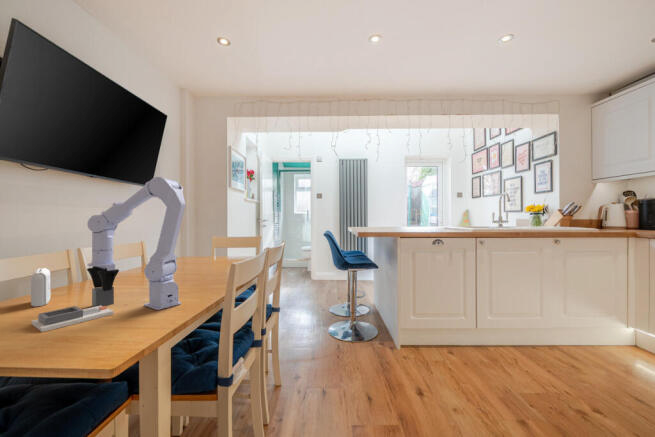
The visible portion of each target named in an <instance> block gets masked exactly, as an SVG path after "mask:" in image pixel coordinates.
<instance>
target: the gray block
mask: <svg viewBox="0 0 655 437" xmlns="http://www.w3.org/2000/svg"><path fill="white" fill-rule="evenodd" d="M111 305H115V287H114V286H112V289H111V290H108V291H103V288H102V287H98V288H95V287H94V288H92V289H91V306H92V307H96V306H105V307H107V306H111Z"/></svg>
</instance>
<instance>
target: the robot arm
mask: <svg viewBox="0 0 655 437" xmlns="http://www.w3.org/2000/svg"><path fill="white" fill-rule="evenodd" d="M183 191H184V188H183V186H182V185H181V184H180V183H179V182H178V181H177V180H174V179H168V178H164V177H162V176H155V177H153V178H151V179H150V180H148V181H147V182H145V184H144V186H143V187H141V188H140V189H139V190H138V191H136V192H135V193H134V194H133V195H131V196H130V197H129V198H128V199H126V201H124V202H123V201H117V202H113V203H112V205H111V207H109V208H108V209H106V210H103V211H101V214H94V215H92V216H91V217H90V218H88V221H87V228H88V229H89V230H90V231H91V244H92V245H91V249H92V250H91V263H87V267H88V268H86V271H87V272H88V273H89V275H90V277H91V280H92V284H93V287H94V288H99V287H102V288H103V291H108V290H111V289H112V287H114V282H115V279H116V278H117V277H116V276H117V275H118V273H119V272H120V269H119V268H118V269H117V268H116V264H115V261H114V236H115V231H116V230H117V228H118V225H119V224H120V223H122V222H123V221H125V220H126V219H127V218H129V217H130V216H131V215H133V211H134V209H136V208H138V207H139V206H140V205H142V204H143V203H145V202H147V201H149V200H151V199H152V198H158V199H159V200H161V201H162V203H163V204H164V205H165V207H166V210H165V215H164V218H163V222H162V226H161V230H160V235H159V239H158V242H157V247H156V251H155V252H154V253H153V254H152V255H151V257H150V258H149V261H148V262H147V264H146V265H145V267H144V270H143V273H144V276H145V278H146V279H147V280H148V288H149V290H148V294H149V296H148V301H149V302H146V303H143V306H144V307H147V308H150V309H153V310H156V311H160V310H163V309H167V308H171V307H174V306H178V305H181V304H182V302H181V301H179V285H178V283H177V282H175V281H174V274H175V273H176V272H177V270H178V264H177V258H178V257H177V255H176V254H175V250H176V247H177V246H176V245H177V242H178V237H179V235H180V234H179V233H180V230H181V226H182V222H183V218H184V213H185V209H186V200H185V197H184V192H183Z"/></svg>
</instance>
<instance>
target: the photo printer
mask: <svg viewBox="0 0 655 437" xmlns="http://www.w3.org/2000/svg"><path fill="white" fill-rule="evenodd" d="M51 293H52V292H51V271H50V270H49V269H48V268H45V267H41V268H40V267H39V268H37V269H36V270H34V271H33V272H32V273H31V275H30V305H31V307H35V308H36V307H42V306H45V305H47V304H48V303H49V302H50V300H51Z"/></svg>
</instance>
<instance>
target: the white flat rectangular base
mask: <svg viewBox="0 0 655 437" xmlns="http://www.w3.org/2000/svg"><path fill="white" fill-rule="evenodd" d="M111 315H114V310H112V309H110V308H108V307H107V306H96V307H93V306H92V307H89V308H83V309H82V308H80V307H78V306H75V305H74V306H68V307H65V308H59V309H56V310H50V311H46V312H45V311H44V312H40V313H38V316H37V318H38V319H35V320H31V325H32V326H34V327H35V328H36V329H37V330H39V331H40V332H42V333H43V332H48V331H51V330H55V329H60V328H64V327H69V326H71V325H76V324H80V323H85V322H88V321H92V320H97V319H99V318H104V317H107V316H111Z"/></svg>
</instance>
